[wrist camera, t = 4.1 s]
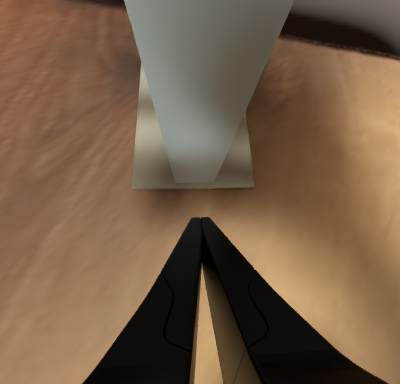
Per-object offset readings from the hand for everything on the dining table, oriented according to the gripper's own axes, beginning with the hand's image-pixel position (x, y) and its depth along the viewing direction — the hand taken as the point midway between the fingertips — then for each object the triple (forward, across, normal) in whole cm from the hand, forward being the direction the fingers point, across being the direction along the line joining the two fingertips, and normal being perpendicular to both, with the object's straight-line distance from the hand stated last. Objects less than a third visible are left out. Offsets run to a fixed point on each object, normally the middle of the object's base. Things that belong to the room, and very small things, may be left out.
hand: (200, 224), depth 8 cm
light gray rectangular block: (+9, 0, -1) cm, 9 cm away
